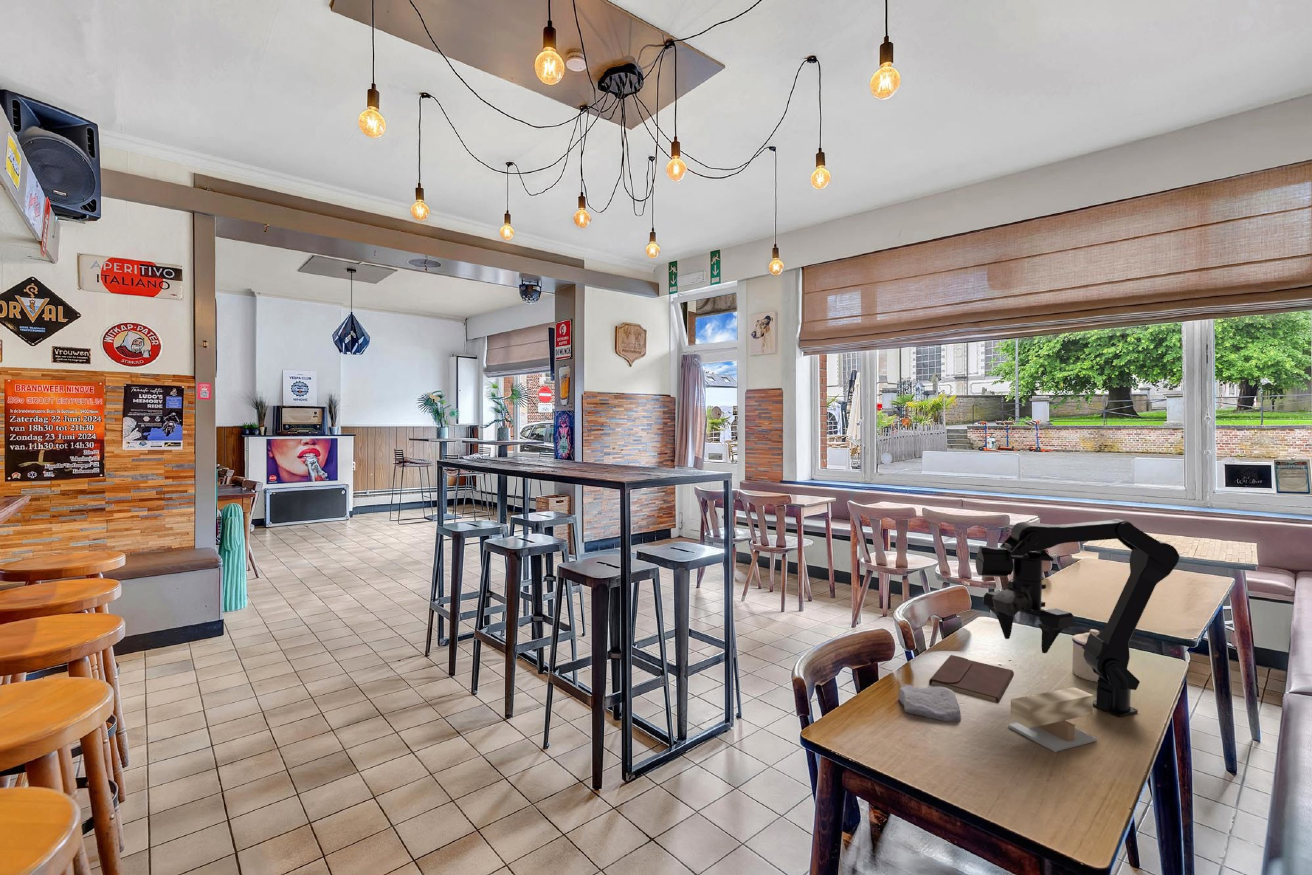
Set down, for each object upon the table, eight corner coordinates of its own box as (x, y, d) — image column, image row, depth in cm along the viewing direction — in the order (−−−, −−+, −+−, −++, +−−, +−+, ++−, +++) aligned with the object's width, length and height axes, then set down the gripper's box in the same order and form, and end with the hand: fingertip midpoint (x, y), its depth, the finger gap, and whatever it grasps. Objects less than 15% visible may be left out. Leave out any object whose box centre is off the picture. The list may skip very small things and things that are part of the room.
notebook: (1013, 676, 152) (1013, 668, 152) (998, 704, 137) (999, 695, 137) (949, 661, 162) (949, 653, 162) (928, 685, 147) (929, 677, 146)
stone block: (964, 731, 128) (952, 701, 137) (965, 712, 127) (953, 682, 136) (904, 726, 130) (897, 697, 140) (905, 707, 129) (897, 679, 139)
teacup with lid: (1113, 687, 146) (1115, 639, 145) (1068, 676, 152) (1069, 630, 151) (1118, 672, 155) (1119, 627, 154) (1075, 662, 161) (1076, 619, 160)
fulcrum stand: (1048, 717, 130) (1048, 701, 130) (1096, 740, 121) (1096, 722, 121) (1008, 727, 126) (1008, 710, 126) (1054, 751, 116) (1055, 733, 116)
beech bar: (1073, 705, 128) (1074, 686, 128) (1092, 714, 124) (1093, 695, 124) (1010, 718, 122) (1010, 699, 122) (1028, 728, 118) (1028, 708, 118)
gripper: (966, 571, 144) (965, 635, 144) (1041, 592, 126) (1039, 665, 127) (1000, 567, 148) (998, 630, 148) (1077, 587, 130) (1075, 659, 131)
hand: (1025, 645), depth 138 cm, fingers open, 9 cm apart
